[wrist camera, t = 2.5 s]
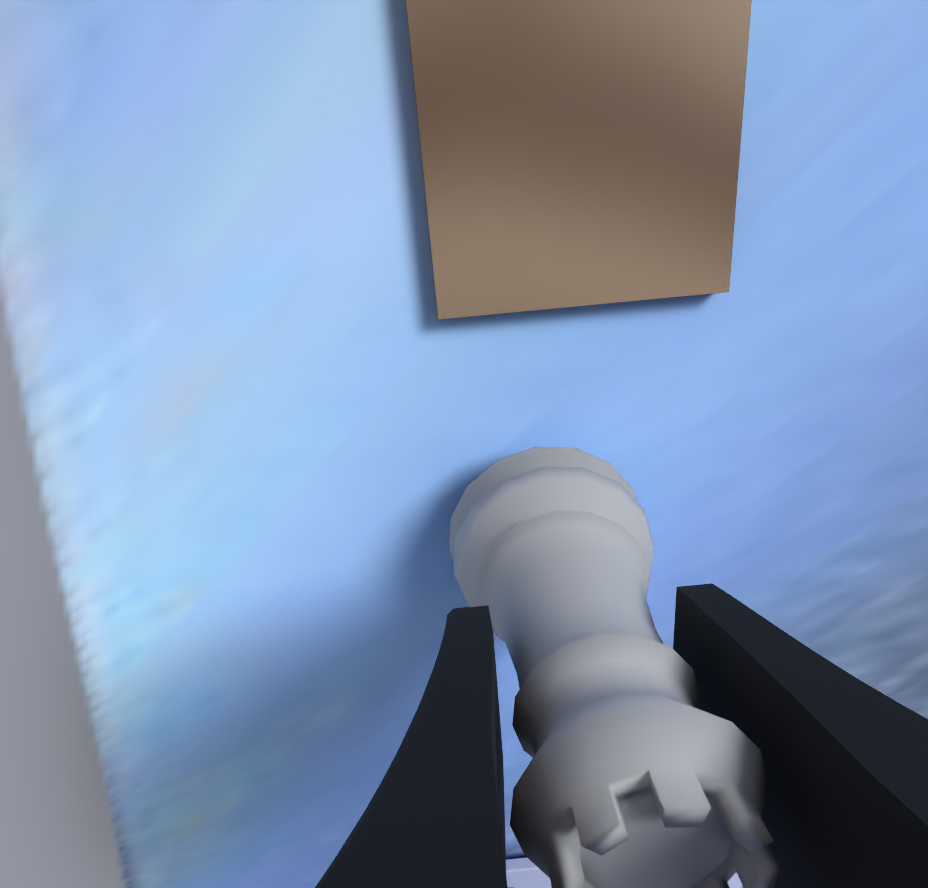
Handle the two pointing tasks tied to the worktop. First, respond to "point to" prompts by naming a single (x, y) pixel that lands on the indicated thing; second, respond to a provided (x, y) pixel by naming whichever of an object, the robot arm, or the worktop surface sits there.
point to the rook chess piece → (603, 688)
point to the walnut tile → (578, 148)
